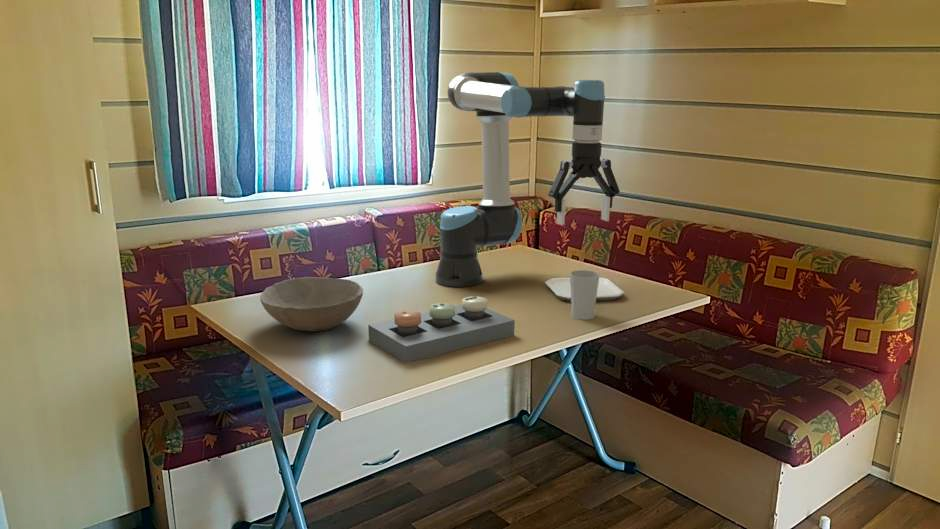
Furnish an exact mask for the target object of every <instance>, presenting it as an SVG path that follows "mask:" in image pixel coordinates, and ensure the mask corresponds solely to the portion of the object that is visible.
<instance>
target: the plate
mask: <svg viewBox="0 0 940 529" xmlns="http://www.w3.org/2000/svg"><path fill="white" fill-rule="evenodd" d="M544 283H545V285H546V286H547V287H548V288H549V289H550V290H551V291H552V292H553V294H554V295H555V296H556V298H557V297H558V298H559V299H560V300H563V301H568V302H571V285H570V277H554V278H550V279H548V280H546V281H545V282H544ZM624 295H625V292H624V290H623V289H621V288H620V287H618V286H617V285H616V284H615V283H613V282H612V281H611V280H610V279H608V278H606V277H600V276H599V282H598V288H597V296H596V302H598V301H599V302H600V301H613V300H615V299H617V298H619V297H621V296H624Z"/></svg>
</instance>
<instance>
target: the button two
mask: <svg viewBox="0 0 940 529" xmlns="http://www.w3.org/2000/svg"><path fill="white" fill-rule="evenodd" d="M455 306H456V305H454V304H451V303H446V302H442V303H441V302H440V303H439V302H438V303H433V304H431V305H430V306H429V308H428V309H429V310H428V312H429V315H430V317H432V326H433V327H435V328H438V329H440V328H445V327H449V326H452V317H454V316H455Z"/></svg>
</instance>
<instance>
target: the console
mask: <svg viewBox="0 0 940 529" xmlns="http://www.w3.org/2000/svg"><path fill="white" fill-rule="evenodd" d="M454 306H455V316H454V317H452V326H449V327H445V328H440V329H438V328H435V327H433V326H432V317H430V315H429V311H425V312H420V313H421V323H420V324H419V325H418V334H415V335H410V336H406V337H403V336H400V335H398V326H397V325H396V324H395V322H394V318H393V319H388V320H385V321H379V322H375V323H369V324H368V330H367V331H368V341H370V342H372V343H373V344H374V345H376V346H378V347H380V348H382V349H383V350H384V351H386V352H388V353H390V354H391V355H392V356H394V357H396V358H398V359H399V360H401V361H403V362H404V363H410V362H415V361H418V360H422V359H425V358H430V357H433V356H438V355H441V354H445V353H449V352H453V351H457V350H460V349H461V350H462V349H465V348H470V347H472V346H477V345H481V344H484V343H488V342H492V341H497V340H500V339H503V338H504V339H505V338H508V337H512V336H515V326H516V325H515V324H516V323H515V322H516V321H515V319H513V318H510V317H508V316H506V315H503V314H501V313H499V312H496V311H495V310H492V309H489V308H487V309H486V310H484V318H483V319H479V320H475V321H470V320H468V319H465V310H464V309H462V304H458V305H454Z"/></svg>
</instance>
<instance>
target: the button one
mask: <svg viewBox="0 0 940 529" xmlns="http://www.w3.org/2000/svg"><path fill="white" fill-rule="evenodd" d="M421 313H422V312H420V311H417V310H413V309H412V310H411V309H410V310H409V309H407V310H400V311H397V312H394V316H393V319H394V322H395V324H396V325H397V326H398V335H400V336H403V337H406V336H410V335H415V334H418V325H419V324H420V323H421Z"/></svg>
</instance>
